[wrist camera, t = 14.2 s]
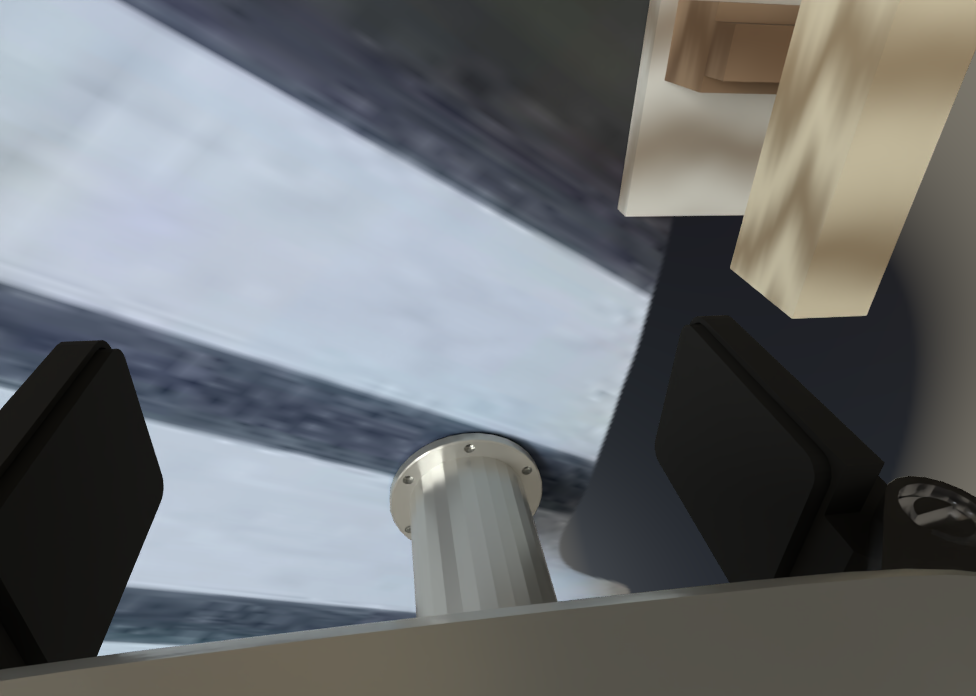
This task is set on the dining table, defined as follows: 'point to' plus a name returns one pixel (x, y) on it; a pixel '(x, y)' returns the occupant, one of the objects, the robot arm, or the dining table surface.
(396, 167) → the dining table surface
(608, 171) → the dining table surface
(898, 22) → the beige wooden bar
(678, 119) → the stand
